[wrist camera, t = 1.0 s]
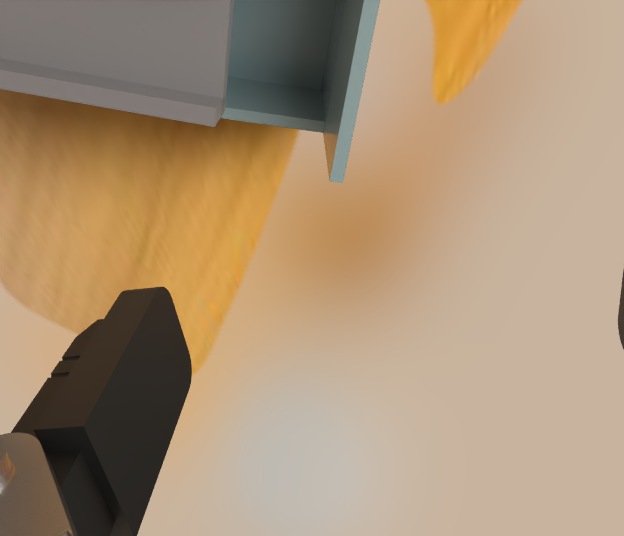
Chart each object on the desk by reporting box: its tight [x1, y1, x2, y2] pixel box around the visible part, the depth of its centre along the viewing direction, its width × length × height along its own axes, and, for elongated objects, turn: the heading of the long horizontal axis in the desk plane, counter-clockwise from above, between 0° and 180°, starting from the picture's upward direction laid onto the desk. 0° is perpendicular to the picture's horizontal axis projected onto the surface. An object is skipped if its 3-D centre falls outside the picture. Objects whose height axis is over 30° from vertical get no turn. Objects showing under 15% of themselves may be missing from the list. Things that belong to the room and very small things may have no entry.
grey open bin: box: [221, 0, 380, 183], centre depth 28 cm, size 10×10×12 cm
